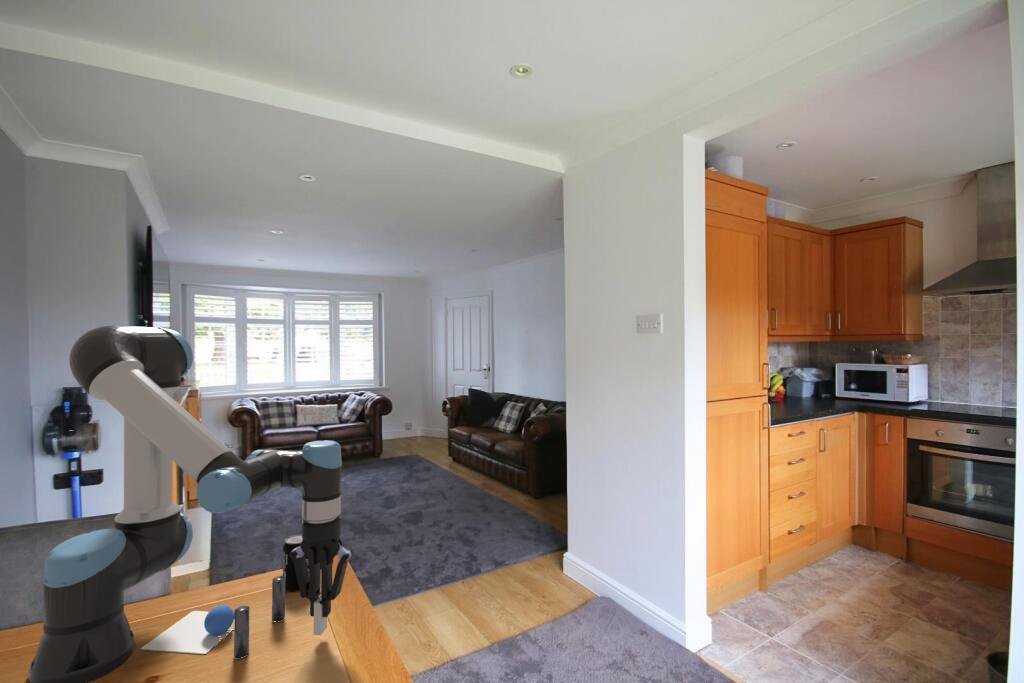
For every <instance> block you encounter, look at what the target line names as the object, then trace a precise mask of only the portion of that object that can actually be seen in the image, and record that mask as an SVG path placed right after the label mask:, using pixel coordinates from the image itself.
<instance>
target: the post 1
mask: <svg viewBox="0 0 1024 683" xmlns="http://www.w3.org/2000/svg"><path fill="white" fill-rule="evenodd" d="M233 612H234V631H233V658H234V657H235V658H241V657H244V656H246V655H248V656H249V655H250V617H249V615H250V606H249V605H240V606H239V607H236V608H235V609H234V610H233ZM246 657H247V656H246ZM235 658H234V659H235Z"/></svg>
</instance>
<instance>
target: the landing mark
mask: <svg viewBox="0 0 1024 683" xmlns="http://www.w3.org/2000/svg"><path fill="white" fill-rule="evenodd" d="M209 612H210V611H204V610H203V611H201V610H192V611H191V612H189V613H187V615H185V616H184V617H183V618H181V619H180V620H178V621H176V622H175V623H174V624H172V625H171V626H170V627H168V628H167V629H166V630H164V631H162V633H160V634H158V635H157V636H156V637H155V638H153V639H151V641H149V642H148V643H146V644H145V645H143V646H142V647H140V651H141V650H142V651H153V652H155V651H157V652H165V653H166V652H167V653H169V652H170V653H179V654H195V655H204V654H206V655H208V654H209V653H210V652H211V651H212V650H213V649H214V648H215V647H216V646H218V643H219V642H220V641H219V640H222V639H223V638H224V639H226V638H227V637H228V636H227V635H226V634H229V632H227V631H230V630H234V629H229V630H227V631H226V632H224V633H222V634H219V635H212V634H209V633H208V632H207V631H206V629H205V627H204V621H205V618H206V616H207V614H208V613H209ZM229 635H230V634H229ZM218 636H221V637H218ZM226 636H227V637H226ZM219 638H222V639H219ZM224 639H223V640H224ZM223 640H222V641H223ZM220 643H221V642H220ZM220 643H219V644H220ZM214 646H215V647H214ZM213 647H214V648H213ZM212 648H213V649H212ZM211 649H212V650H211ZM210 650H211V651H210Z"/></svg>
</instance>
